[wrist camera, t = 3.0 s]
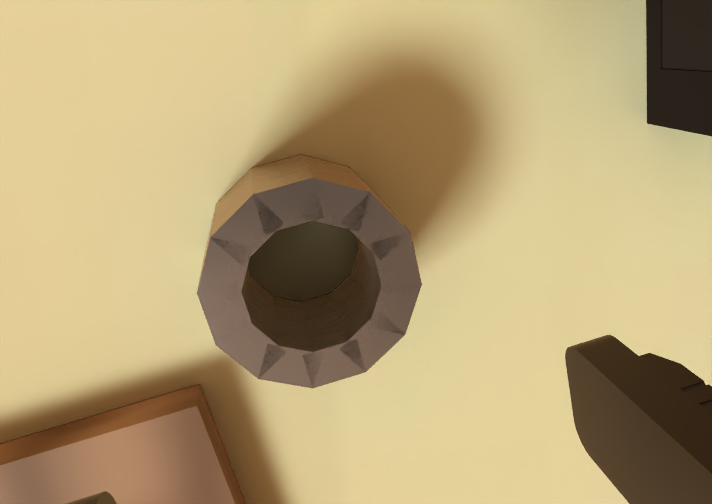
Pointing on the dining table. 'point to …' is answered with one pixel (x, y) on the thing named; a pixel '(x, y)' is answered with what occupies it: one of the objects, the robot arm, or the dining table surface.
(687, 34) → the digital camera
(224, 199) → the steel ring
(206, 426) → the shaft stand
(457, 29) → the dining table surface
